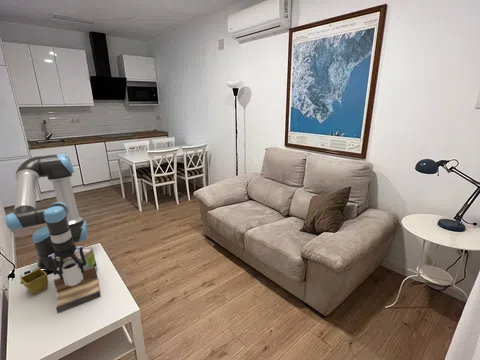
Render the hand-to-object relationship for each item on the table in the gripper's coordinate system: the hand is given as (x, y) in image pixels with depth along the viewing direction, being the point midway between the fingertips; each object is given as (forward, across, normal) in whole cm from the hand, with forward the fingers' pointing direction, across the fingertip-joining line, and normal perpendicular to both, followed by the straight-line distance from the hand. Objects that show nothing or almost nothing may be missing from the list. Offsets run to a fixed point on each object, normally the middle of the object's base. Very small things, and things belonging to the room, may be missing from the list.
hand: (74, 280), depth 120 cm
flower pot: (+11, -18, +19) cm, 29 cm away
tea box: (+11, +1, +20) cm, 23 cm away
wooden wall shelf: (+11, 0, +3) cm, 11 cm away
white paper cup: (+1, 0, 0) cm, 1 cm away
